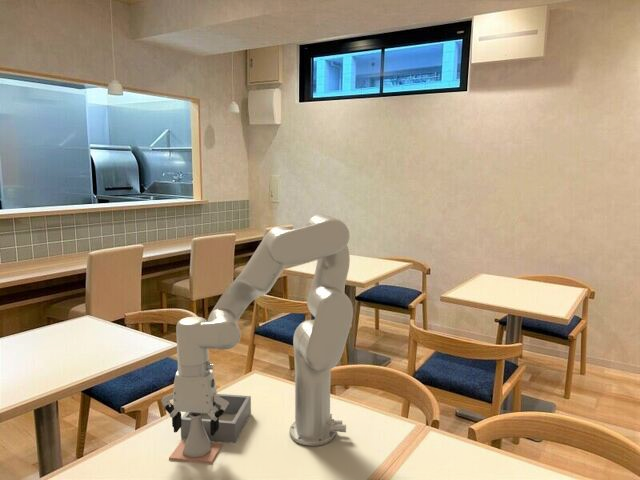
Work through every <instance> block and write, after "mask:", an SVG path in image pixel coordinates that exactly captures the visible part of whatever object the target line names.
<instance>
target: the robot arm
mask: <svg viewBox="0 0 640 480" xmlns="http://www.w3.org/2000/svg"><path fill="white" fill-rule="evenodd" d="M349 240H350V230H349V228H348V226H347V225H346V224H345V223H344V221H342V220H340V219H338V218H335V217H332V216H330V215H326V214H315V215H313V216H312V217H310V218H309V219H308V221H307V223H306V226H302V227H299V228H295V229H291V228H288V227H286V226H275V227H273V228H271V229H270V230H269V231H268V232H267V233H266V235H265V236H264V237H263V239H262V240H261V241H260V243H259V244H258V246H257V248H256V249H255V251H254V253H253V254H252V256H251V257H250V259H249V260H248V262H247V263H246V265H245V266H244V268H243V269H242V270H241V272H240V273H239V275H238V276H237V277H236V278H235V279H234V280H233V281H232V282H231V283H230V285H228V287H227V288H226V290H225V291H224V292H223V293H222V294H221V296H220V297H219V299H218V301H217V302H216V304H215V306H214V307H213V309H212V310H211V312H210V314H209V316H208V318H207V319H206V318H204V317H201V316H187V317H184V318H181V319H179V320H178V322H177V324H176V326H175V328H176V329H175V330H176V332H175V333H176V354H177V355H176V356H177V357H176V358H177V371H176V372H175V376H174V381H173V391H172V392H171V393H169V394H166V395H164V396H163V397H162V398H161V399H160V401H161V403H162V405H163V407H164V410H165V411H166V412H167V413H168V414H169V417H170V418H171V424H172V426H171V427H172V428H173V433H177V432H179V430H181V426H182V423H181V418H182V413H181V412H184V413H186V412H192V413H203V414H207V415H208V416H209V418H210V420H211V421H210V431H211V436H214V434H215V433H216V431H218V429H219V420H220V417H222V415H224V414H225V413H224V412H225V410H226V408H227V406H228V404H229V402H228V401H227V400H225V399H223V398H221V397H220V396H218V395H217V394H218V392H217V384H216V378H215V374H214V371H213V370H215V365H216V364H215V363H212V362H211V359H210V353H209V352H210V351H209V350H220V351H221V350H223V351H224V350H230V349H232V348H234V347H236V346H237V345H238V344H239V343H240V340H241V338H242V331H241V328H240V326H239V323H238V321H239V320H240V318H241V317H242V315H243V313H244V312H245V310H246V309H247V308H248V306H249V305H250V304H251V303H252V302H253V301H254V300H256V299H257V298H260V297H262V296H265V295H266V294H268V293H269V292H270V291H271V289H272V288H273V287H274V285H275V284H276V282H277V280H279V277H280V276H281V274H282V273H283V271H284V270H285V268H286V267H291V266H292V267H293V266H297V265H301V264H302V265H303V264H306V263H309V262H312V261H317V262H316V266H315V271H314V275H313V277H312V282H311V285H310V289H309V293H308V296H307V300H306V305H307V308H308V311H309V312H310V314H311V315H312V316H313V317H314V319H306V320H304V321H302V322H301V323H299V325H298V326H297V327H296V329H295V330H294V333H293V340H292V342H293V343H292V344H293V353H294V365H295V367H294V368H295V371H294V372H295V373H294V375H295V379H294V388H295V389H294V394H295V395H294V400H295V401H294V405H295V406H294V407H295V408H294V410H295V411H294V419H295V420H294V422H293V423H292V424H291V425H290V427H289V437H290V438H291V440H293V441H294V442H296V443H297V444H300V445H304V446H307V447H308V446H309V447H316V446H323V445H326V444H327V443H329V442H331V441H332V440H333V439H334V438H335V436H336V432H339V433H346V432H347V424H343V420H339V419H338V420H337V419H335V418H334V419H333V413H331V381H332V379H331V378H332V377H331V375H332V373H331V371H332V369H333V368H335V367H336V366H337V365H338V364H339V362H340V360H341V359H342V356H343V353H344V351H345V347H346V344H347V340H348V336H349V333H350V329H351V325H352V322H353V318H354V308H353V302H352V300H351V299H350V297H349V296H348V295H347V294H346V293H345V287H346V284H347V279H348V274H349V270H350V264H351V263H350V261H351V259H350V250H349V246H348V243H349ZM171 401H172V402H171ZM216 404H219V405H221V408H220V409H219V410H218V409H217V408H216V406H215V405H216Z"/></svg>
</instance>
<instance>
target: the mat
mask: <svg viewBox="0 0 640 480" xmlns="http://www.w3.org/2000/svg"><path fill="white" fill-rule="evenodd" d="M186 440H187V439H184V438H181V441H180V442H179V443H178V445H177V446H176V448H175V449H174V450H173V452H171V454H170V456H169V457H168V459H169V460H168V461H176V460H177V461H178V462H188V463H199V464H208V465H210V464H211V465H212V464H213V462H214V461H215V459H216V457H217V455H218V454H219V452H220V450H221V449H222V447H223V445H224V444H223V443H224V442H218V441H211V443H212V446H211V451H209V452H208V453H207V454H205V455H204V456H203V457H189V456H186V455H184V454H182V453H183V450H184V446H185V443H186Z"/></svg>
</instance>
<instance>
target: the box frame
mask: <svg viewBox="0 0 640 480" xmlns="http://www.w3.org/2000/svg"><path fill="white" fill-rule="evenodd" d="M217 395H218V396H220V397H221V398H223V399H225V400H227V401H228V402H229V404H228V406H227V408H226V410H225V412H224V413H223V414H227V415H228V414H229V415H235V416H234V418H233V420H232V421H231V420H221V419H219V429H218V431H216V433H215V434H214V436H211V431H210V421H211V420H212V419H211V418H209V419H207V418H202V422H203V426H204V428H205V431H206V433H207V435H208V437H209V439H210V441H211V442H220V443H231V444H235V443H237V440H238V439H239V438H240V435H241V434H242V431H243V430H244V428H245V426H246V423H247V422H248V420H249V418H250V416H251V414H252V397H251V395H241V394H226V393H217ZM215 406H216V408H217V409H218V410H219V409H220V408H221V405H219V404H216V405H215ZM190 413H191V412H184V414H183V415H182V416H181V423H182V426H181V428H180V438H181V439H186V440H187V437H188V434H189V431H190V425H191V418H190V416H189V415H190Z"/></svg>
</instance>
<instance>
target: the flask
mask: <svg viewBox="0 0 640 480" xmlns="http://www.w3.org/2000/svg"><path fill="white" fill-rule="evenodd" d="M203 414H204V413H192V412H191V413H190V415H189V416H190V418H191V425H190V431H189V434H188V437H187V439H186V443H185V446H184V450H183V453H182V454H184V455H186V456H189V457H203V456H204V455H205V454H207V453H208V452H209V451H211V446H212V443H211V442H212V441H210V439H209V437H208V435H207V433H206V431H205V428H204V426H203V422H202V419H203V418H202V416H203Z"/></svg>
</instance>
